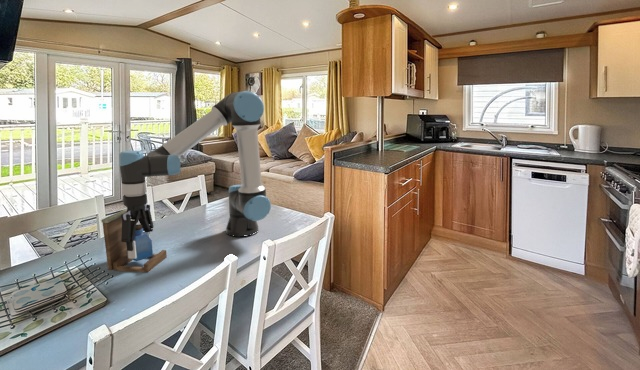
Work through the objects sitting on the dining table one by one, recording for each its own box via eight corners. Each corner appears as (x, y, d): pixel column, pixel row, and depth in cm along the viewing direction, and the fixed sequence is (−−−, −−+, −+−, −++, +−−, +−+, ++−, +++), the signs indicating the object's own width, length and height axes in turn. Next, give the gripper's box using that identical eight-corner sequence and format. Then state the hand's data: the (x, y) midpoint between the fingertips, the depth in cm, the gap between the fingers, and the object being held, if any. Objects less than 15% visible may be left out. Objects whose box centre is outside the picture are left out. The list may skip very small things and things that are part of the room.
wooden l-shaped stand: (167, 256, 133) (163, 210, 129) (147, 272, 119) (142, 221, 115) (131, 254, 134) (126, 208, 130) (107, 270, 120) (101, 219, 116)
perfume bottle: (144, 251, 130) (141, 222, 128) (152, 255, 127) (150, 225, 124) (127, 257, 125) (124, 226, 123) (136, 261, 122) (133, 230, 119)
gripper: (142, 187, 131) (147, 241, 136) (104, 201, 111) (111, 264, 115) (160, 188, 131) (164, 242, 136) (125, 202, 110) (132, 266, 115)
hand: (140, 252), depth 126 cm, fingers closed on perfume bottle, 8 cm apart
